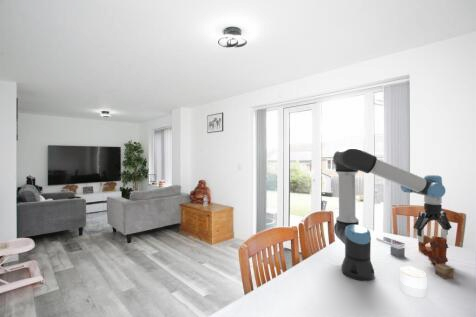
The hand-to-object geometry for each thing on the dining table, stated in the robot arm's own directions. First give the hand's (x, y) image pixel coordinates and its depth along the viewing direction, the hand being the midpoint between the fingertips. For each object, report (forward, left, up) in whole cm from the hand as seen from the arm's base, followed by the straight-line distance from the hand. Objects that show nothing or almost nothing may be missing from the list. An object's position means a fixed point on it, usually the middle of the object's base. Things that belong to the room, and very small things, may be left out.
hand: (432, 241), depth 131 cm
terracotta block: (+8, +13, -12) cm, 20 cm away
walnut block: (-6, -13, -12) cm, 19 cm away
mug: (0, 0, -12) cm, 12 cm away
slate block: (-11, +12, -12) cm, 20 cm away
